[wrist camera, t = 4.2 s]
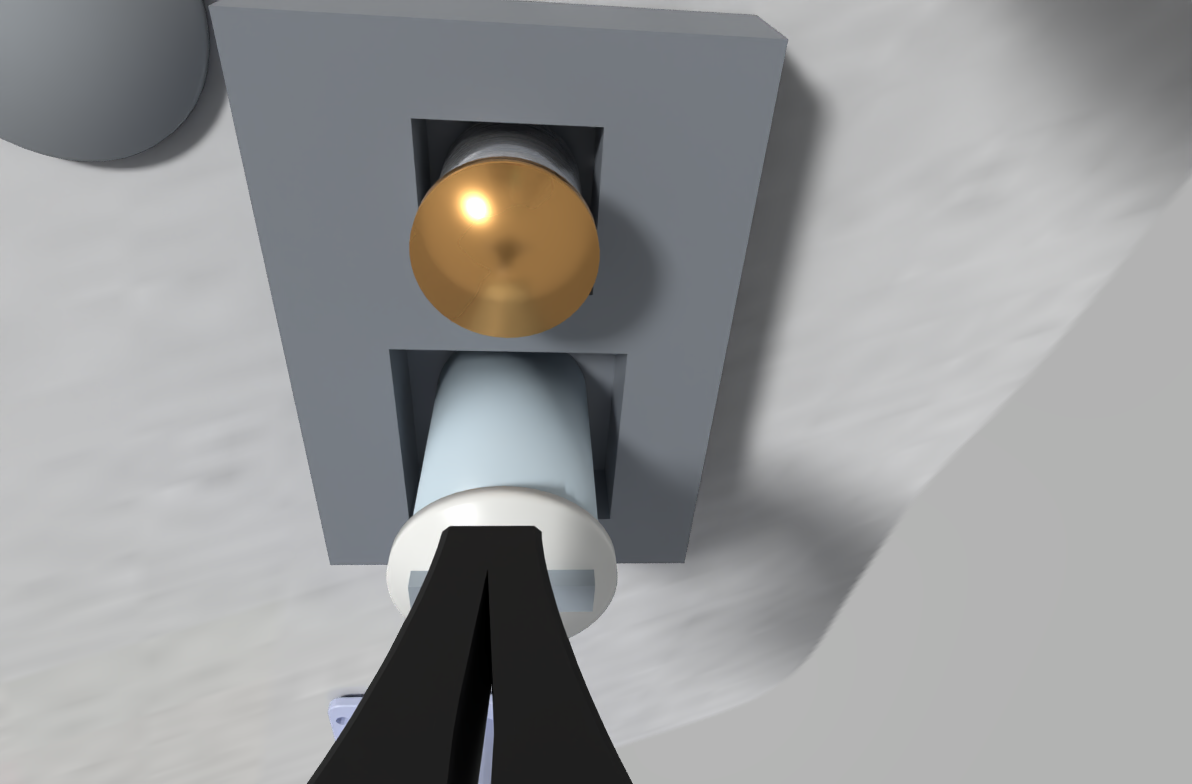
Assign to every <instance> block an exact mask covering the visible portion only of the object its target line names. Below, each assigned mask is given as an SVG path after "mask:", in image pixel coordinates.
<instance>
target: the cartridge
mask: <svg viewBox="0 0 1192 784" xmlns="http://www.w3.org/2000/svg"><path fill="white" fill-rule="evenodd" d="M449 526H535V527H537V528H538V529H539V530H540V531H542V542H543V549H544V556H545V561H546V566H547V570H548V574H549V579H550V583H551V586H552V590H553V593H554V597H555V600H556V604H557V607H558V610H559V613H560V616H561V620H562V623H563V625H564V628H565V631H566V634H567V636H568V638H570V637H572V636H574V635H576V634H578V633H580V632H581V631H583V630H584V629H586V628H587V627H589V626H590V625H591V624H592V623H594V622H595V621H596V620H597V619H598V618H599V617H600V616H601V615H602V614H603V612H604V611H605V610H606V609H607V607H608V606H609V604H610V602H611V601H612V598H613V596H614V593H615V590H616V586H617V565H616V556H615V551H614V546H613V544H612V541H611V539H610V537H609V535H608V533H607V532H606V530H605V528H604V527H603V526H602V525H601V524H600V523H599V521H598V517H597V505H596V494H595V482H594V471H593V459H592V448H591V437H590V425H589V414H588V402H587V391H586V384H585V379H584V376H583V373H582V371H581V369H580V368H579V366H578V364H577V363H576V362H575V360H574V359H573V358H572V357H571V356H570V355H569V354H568V353H560V352H509V351H456V352H455V353H454V354H453V355H452V356H451V357H450V358H449V359H448V361H447V362H446V363H445V365H444V367H443V369H442V371H441V374H440V377H439V381H438V386H437V392H436V397H435V402H434V408H433V413H432V418H431V423H430V429H429V434H428V439H427V445H426V450H425V455H424V460H423V466H422V471H421V476H420V482H419V487H418V492H417V498H416V503H415V508H414V513H413V516H412V517H411V518H410V519H408V521H407V522H406V523H405V524H404V525H403V526H402V528H401V529H400V530H399V532H398V534H397V536H396V537H395V539H394V542H393V545H392V548H391V552H390V556H389V561H388V566H387V573H386V578H387V587H388V591H389V594H390V597H391V599H392V601H393V603H394V605H395V606H396V608H397V609H398V610H399V612H400V613H401V614H402V615H403V616H404V617H405V618H407V616H408V614H409V612H410V610H411V608H412V606H413V604H414V601H415V599H416V597H417V595H418V593H419V591H420V588H421V586H422V584H423V582H424V579H425V577H426V575H427V572H428V570H429V568H430V565H431V563H432V560H433V557H434V555H435V552H436V549H437V547H438V544H439V540H440V537H441V534H442V531H444V530H445V529H446V528H448V527H449Z"/></svg>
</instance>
